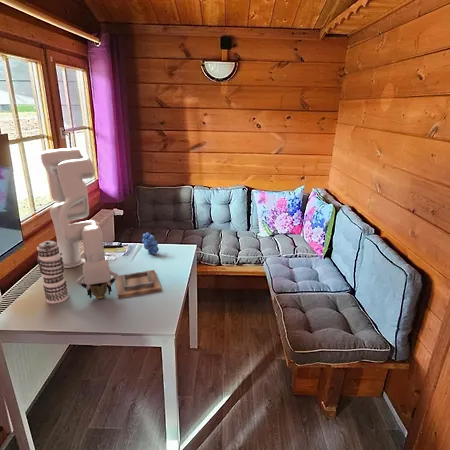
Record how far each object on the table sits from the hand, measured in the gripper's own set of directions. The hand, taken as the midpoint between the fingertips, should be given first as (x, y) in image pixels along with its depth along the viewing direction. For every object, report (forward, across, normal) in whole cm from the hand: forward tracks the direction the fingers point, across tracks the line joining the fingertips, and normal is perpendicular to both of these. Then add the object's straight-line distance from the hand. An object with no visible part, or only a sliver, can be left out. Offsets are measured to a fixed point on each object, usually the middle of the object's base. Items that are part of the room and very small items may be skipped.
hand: (100, 294), depth 147 cm
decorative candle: (+2, -17, +6) cm, 18 cm away
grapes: (+2, +26, +37) cm, 45 cm away
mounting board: (+2, +16, +6) cm, 17 cm away
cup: (+2, 0, 0) cm, 2 cm away
